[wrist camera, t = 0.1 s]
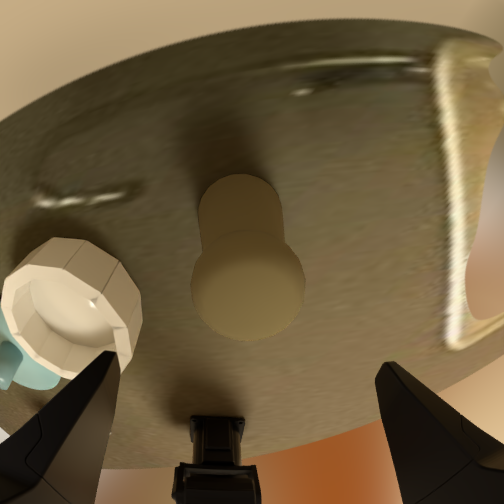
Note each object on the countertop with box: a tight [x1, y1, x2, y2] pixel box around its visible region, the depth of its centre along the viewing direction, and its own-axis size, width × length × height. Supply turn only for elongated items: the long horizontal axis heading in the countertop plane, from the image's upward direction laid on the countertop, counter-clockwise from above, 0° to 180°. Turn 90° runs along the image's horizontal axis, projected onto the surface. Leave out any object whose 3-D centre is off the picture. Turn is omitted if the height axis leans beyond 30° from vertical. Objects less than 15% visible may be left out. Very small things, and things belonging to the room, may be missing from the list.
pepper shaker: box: [190, 174, 306, 341], centre depth 18 cm, size 6×6×11 cm
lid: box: [0, 301, 61, 390], centre depth 25 cm, size 13×13×5 cm
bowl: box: [1, 237, 143, 379], centre depth 23 cm, size 12×12×4 cm
